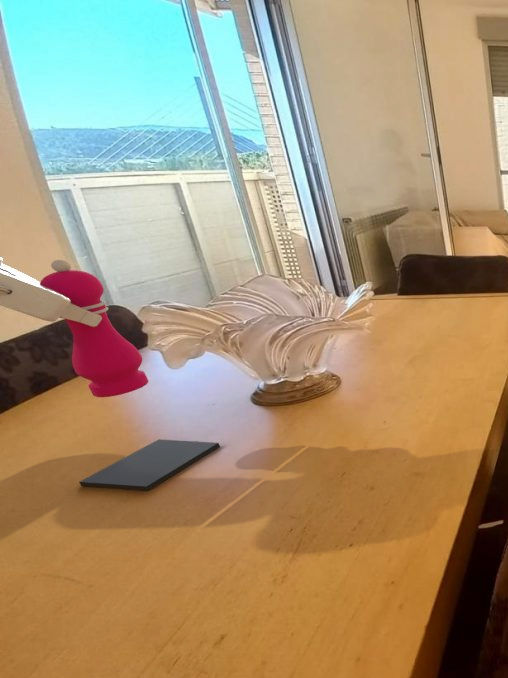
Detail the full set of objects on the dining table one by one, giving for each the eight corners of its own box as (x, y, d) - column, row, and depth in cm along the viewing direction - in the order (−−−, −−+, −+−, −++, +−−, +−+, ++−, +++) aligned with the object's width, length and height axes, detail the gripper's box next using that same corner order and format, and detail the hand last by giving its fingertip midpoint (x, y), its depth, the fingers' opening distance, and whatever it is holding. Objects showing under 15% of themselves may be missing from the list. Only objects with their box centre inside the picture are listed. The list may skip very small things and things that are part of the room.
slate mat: (81, 486, 73) (78, 481, 72) (160, 443, 84) (158, 439, 83) (148, 491, 71) (146, 486, 71) (220, 446, 82) (218, 442, 82)
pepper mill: (76, 397, 71) (4, 264, 63) (131, 376, 78) (72, 254, 70) (110, 401, 70) (41, 265, 62) (164, 380, 76) (108, 255, 68)
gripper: (-26, 249, 54) (127, 309, 65) (-45, 238, 64) (89, 291, 76) (-68, 296, 52) (97, 350, 63) (-80, 277, 63) (62, 326, 74)
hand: (92, 318), depth 70 cm, fingers closed on pepper mill, 5 cm apart
